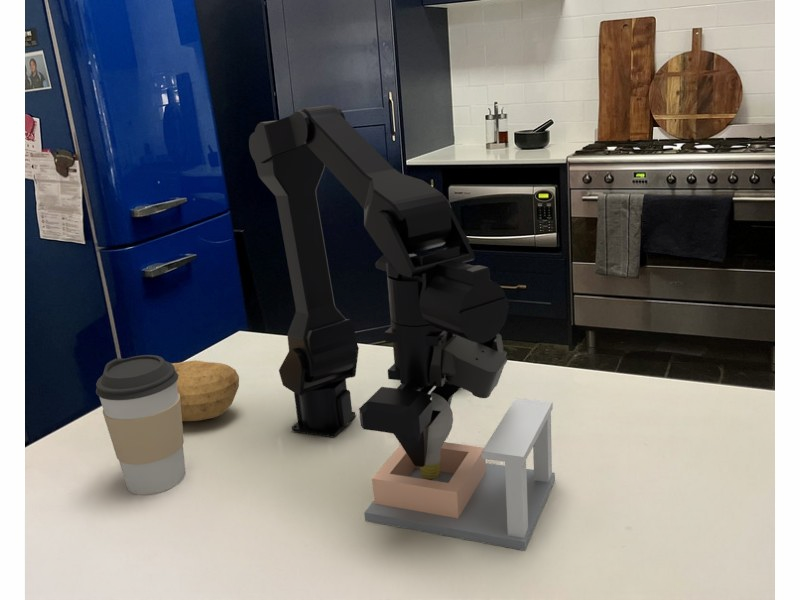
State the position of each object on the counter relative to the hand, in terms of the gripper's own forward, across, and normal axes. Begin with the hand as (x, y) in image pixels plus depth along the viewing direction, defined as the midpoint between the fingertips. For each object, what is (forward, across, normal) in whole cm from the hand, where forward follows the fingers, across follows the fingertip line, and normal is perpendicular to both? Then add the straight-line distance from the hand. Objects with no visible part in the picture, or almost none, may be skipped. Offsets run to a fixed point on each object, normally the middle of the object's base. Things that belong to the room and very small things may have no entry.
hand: (428, 454), depth 82 cm
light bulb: (+3, 0, 0) cm, 3 cm away
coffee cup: (+5, -6, +33) cm, 34 cm away
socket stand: (+5, 0, -4) cm, 6 cm away
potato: (+5, +9, +39) cm, 40 cm away
